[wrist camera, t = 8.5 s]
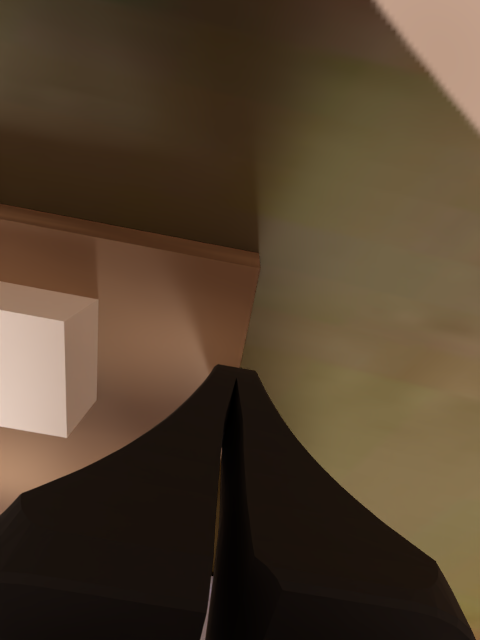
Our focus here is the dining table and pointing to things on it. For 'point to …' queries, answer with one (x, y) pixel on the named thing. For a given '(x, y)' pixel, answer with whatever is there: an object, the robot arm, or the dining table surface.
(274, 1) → the dining table surface
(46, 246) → the board
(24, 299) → the tile
